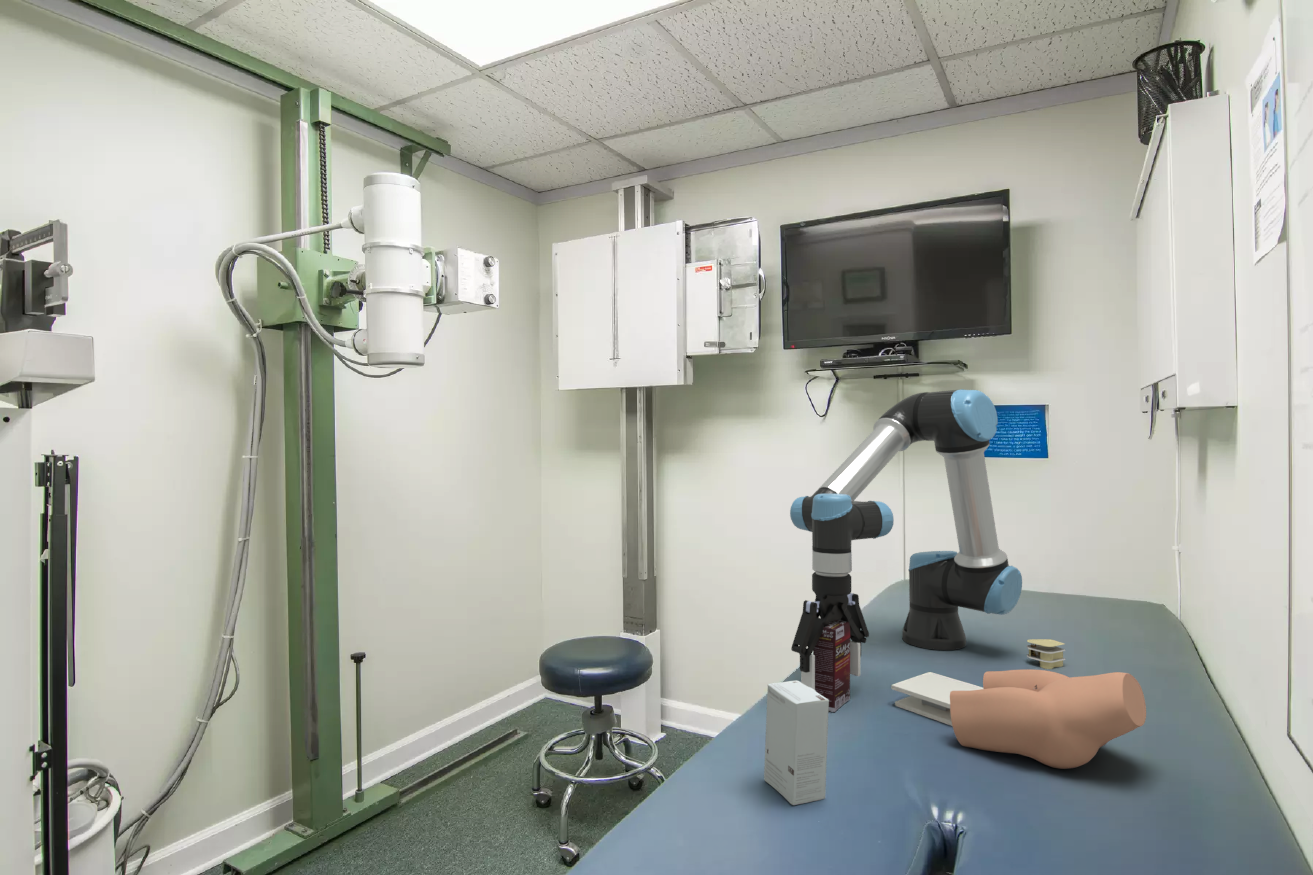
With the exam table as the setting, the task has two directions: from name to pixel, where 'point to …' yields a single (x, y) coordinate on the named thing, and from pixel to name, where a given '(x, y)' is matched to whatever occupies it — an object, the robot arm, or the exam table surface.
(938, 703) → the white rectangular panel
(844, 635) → the supplement box
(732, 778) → the exam table surface
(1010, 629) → the exam table surface
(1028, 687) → the medical training model
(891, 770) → the exam table surface
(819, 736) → the skincare box
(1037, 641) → the beige layered block
